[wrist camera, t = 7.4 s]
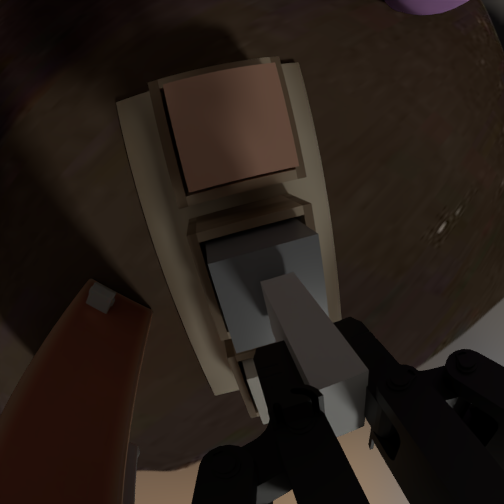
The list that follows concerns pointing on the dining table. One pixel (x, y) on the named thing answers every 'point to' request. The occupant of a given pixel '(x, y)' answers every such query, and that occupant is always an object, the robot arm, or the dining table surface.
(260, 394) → the ivory key
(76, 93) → the dining table surface
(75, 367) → the terracotta and grey box
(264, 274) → the graphite key
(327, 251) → the keypad board
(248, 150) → the terracotta key
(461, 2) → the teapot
